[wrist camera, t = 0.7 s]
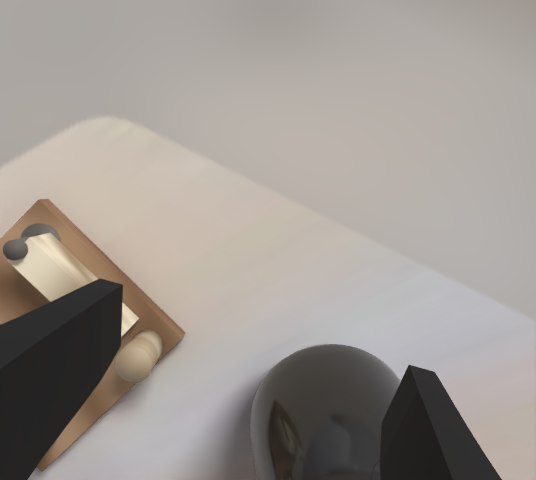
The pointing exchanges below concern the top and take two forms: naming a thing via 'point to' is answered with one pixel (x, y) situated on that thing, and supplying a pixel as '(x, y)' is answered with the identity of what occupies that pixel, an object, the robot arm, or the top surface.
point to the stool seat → (150, 315)
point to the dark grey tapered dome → (321, 415)
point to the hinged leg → (53, 269)
